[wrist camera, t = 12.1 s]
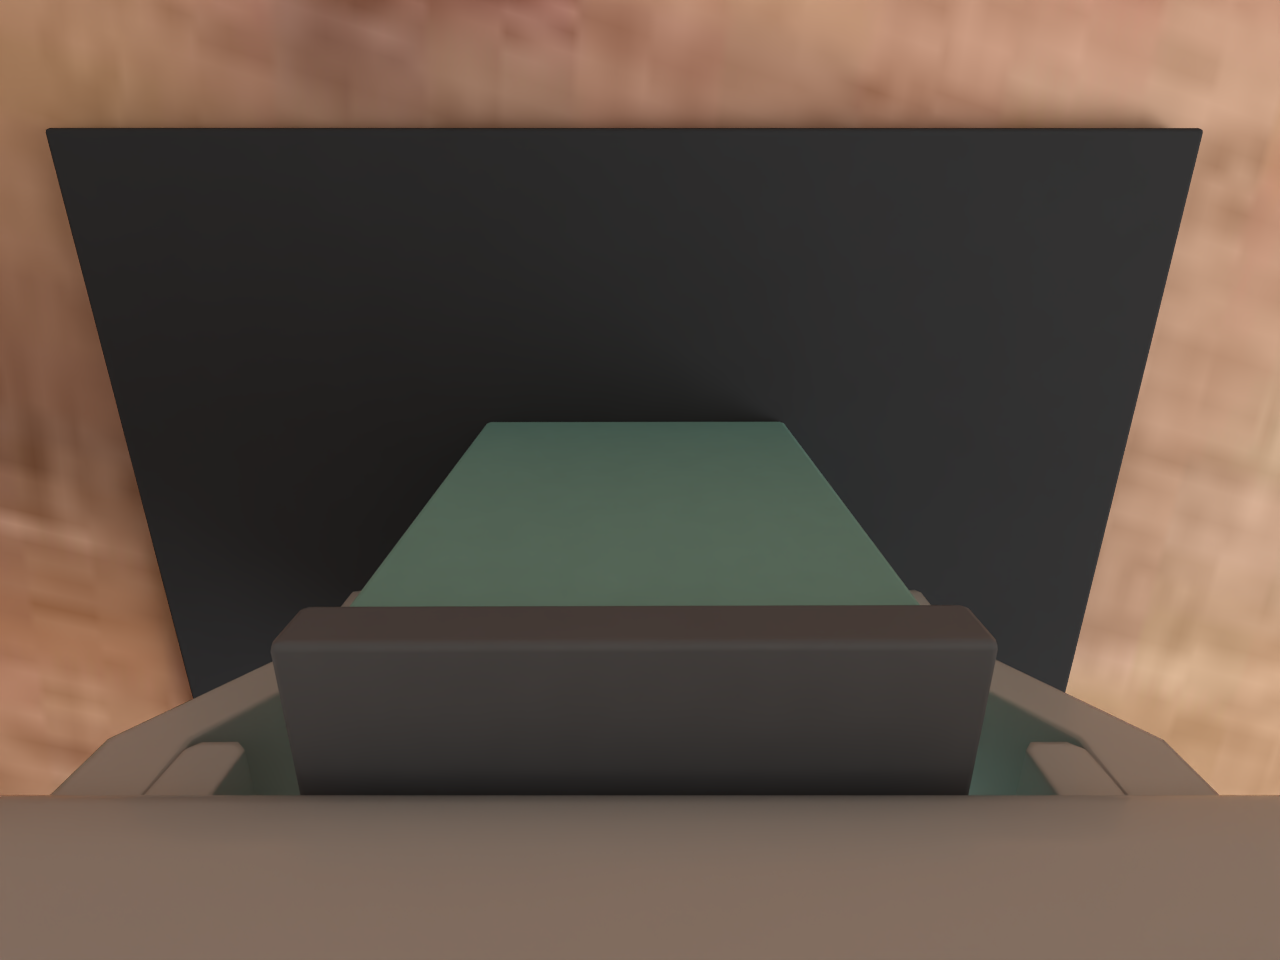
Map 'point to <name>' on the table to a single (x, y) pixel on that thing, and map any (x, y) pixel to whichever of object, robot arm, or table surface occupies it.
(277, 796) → the robot arm
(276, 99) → the table surface
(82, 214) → the mat
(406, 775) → the green block grey end
